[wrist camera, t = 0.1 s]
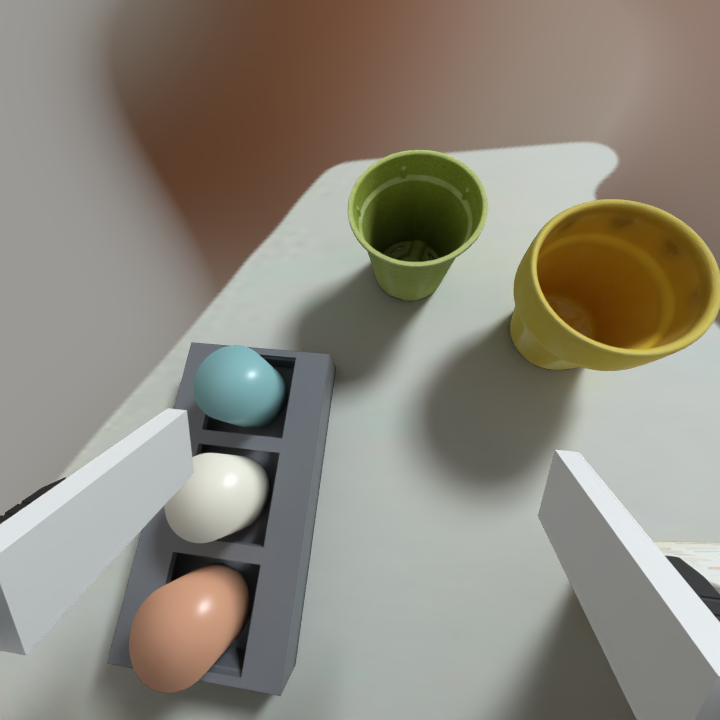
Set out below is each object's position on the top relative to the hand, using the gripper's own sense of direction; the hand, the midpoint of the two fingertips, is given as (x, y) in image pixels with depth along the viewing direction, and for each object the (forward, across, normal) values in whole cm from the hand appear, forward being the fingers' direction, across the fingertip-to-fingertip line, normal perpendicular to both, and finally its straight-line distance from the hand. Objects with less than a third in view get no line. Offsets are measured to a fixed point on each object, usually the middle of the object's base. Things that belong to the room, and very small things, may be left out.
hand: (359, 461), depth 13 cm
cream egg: (+9, +10, +10) cm, 16 cm away
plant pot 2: (+20, -14, -1) cm, 24 cm away
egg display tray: (+11, +10, +11) cm, 18 cm away
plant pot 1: (+23, -2, -5) cm, 23 cm away
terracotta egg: (+5, +9, +16) cm, 19 cm away
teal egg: (+13, +10, +4) cm, 17 cm away
